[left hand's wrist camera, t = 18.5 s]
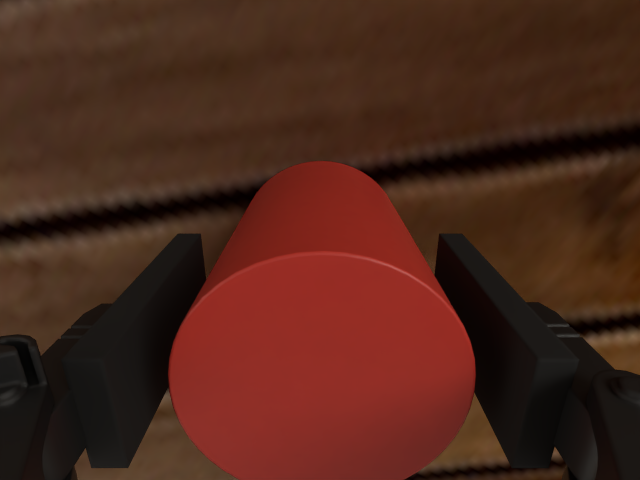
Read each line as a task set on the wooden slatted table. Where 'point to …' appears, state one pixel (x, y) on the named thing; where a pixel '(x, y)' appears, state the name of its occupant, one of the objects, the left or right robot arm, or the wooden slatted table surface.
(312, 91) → the wooden slatted table surface
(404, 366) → the cylinder
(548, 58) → the wooden slatted table surface
